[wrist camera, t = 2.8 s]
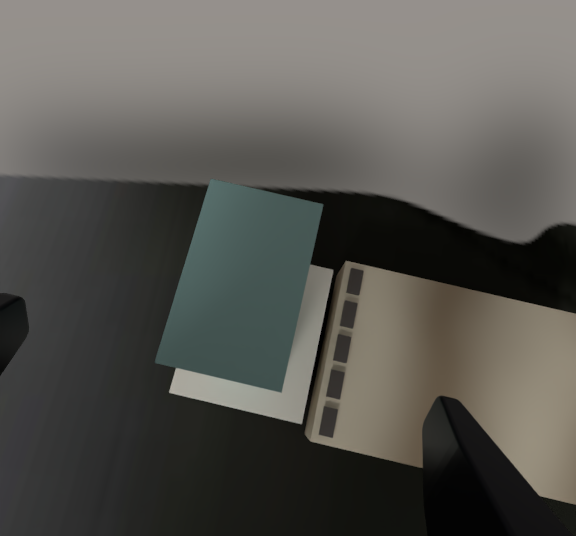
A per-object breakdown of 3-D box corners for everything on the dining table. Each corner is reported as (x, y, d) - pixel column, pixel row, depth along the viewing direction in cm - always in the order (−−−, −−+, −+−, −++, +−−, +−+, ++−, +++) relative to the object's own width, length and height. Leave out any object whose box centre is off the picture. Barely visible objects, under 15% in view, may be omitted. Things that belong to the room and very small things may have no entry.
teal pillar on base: (326, 282, 19) (387, 176, 9) (297, 419, 18) (335, 463, 8) (218, 257, 19) (168, 126, 10) (180, 391, 18) (72, 400, 8)
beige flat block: (549, 325, 20) (592, 316, 17) (539, 489, 18) (586, 507, 15) (336, 276, 20) (346, 259, 17) (304, 433, 18) (310, 442, 15)
